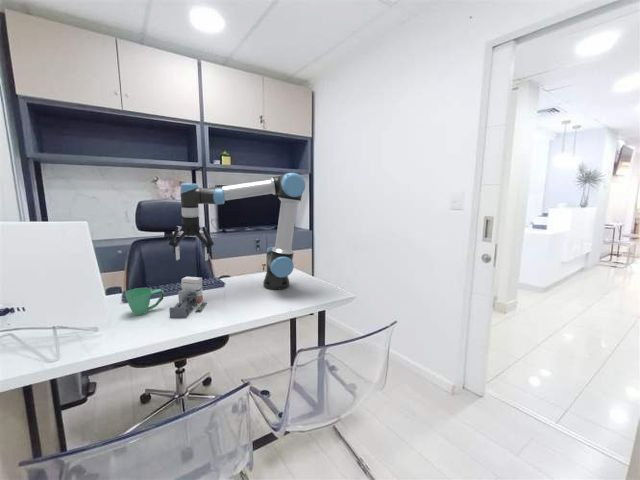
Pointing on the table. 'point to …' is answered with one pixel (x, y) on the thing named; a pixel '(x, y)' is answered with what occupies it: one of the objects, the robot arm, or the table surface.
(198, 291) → the ink box
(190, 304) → the gauge body
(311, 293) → the table surface
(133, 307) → the mug
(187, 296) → the white branched bar piece
